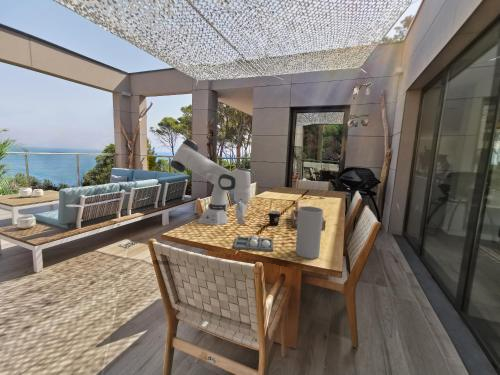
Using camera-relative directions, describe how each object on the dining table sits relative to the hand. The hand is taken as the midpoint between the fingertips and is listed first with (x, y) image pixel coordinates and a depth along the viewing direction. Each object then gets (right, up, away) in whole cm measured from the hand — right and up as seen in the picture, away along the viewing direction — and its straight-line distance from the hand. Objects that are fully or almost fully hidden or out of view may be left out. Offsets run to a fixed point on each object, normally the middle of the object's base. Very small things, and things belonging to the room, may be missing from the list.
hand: (241, 221), depth 124 cm
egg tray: (+7, -15, +5) cm, 17 cm away
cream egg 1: (+7, -14, +9) cm, 18 cm away
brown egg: (0, -2, 0) cm, 2 cm away
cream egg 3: (+14, -15, +1) cm, 20 cm away
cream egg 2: (+7, -15, +2) cm, 16 cm away
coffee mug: (+21, -9, +44) cm, 50 cm away
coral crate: (+49, -9, +49) cm, 70 cm away
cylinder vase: (+36, -17, -3) cm, 40 cm away
